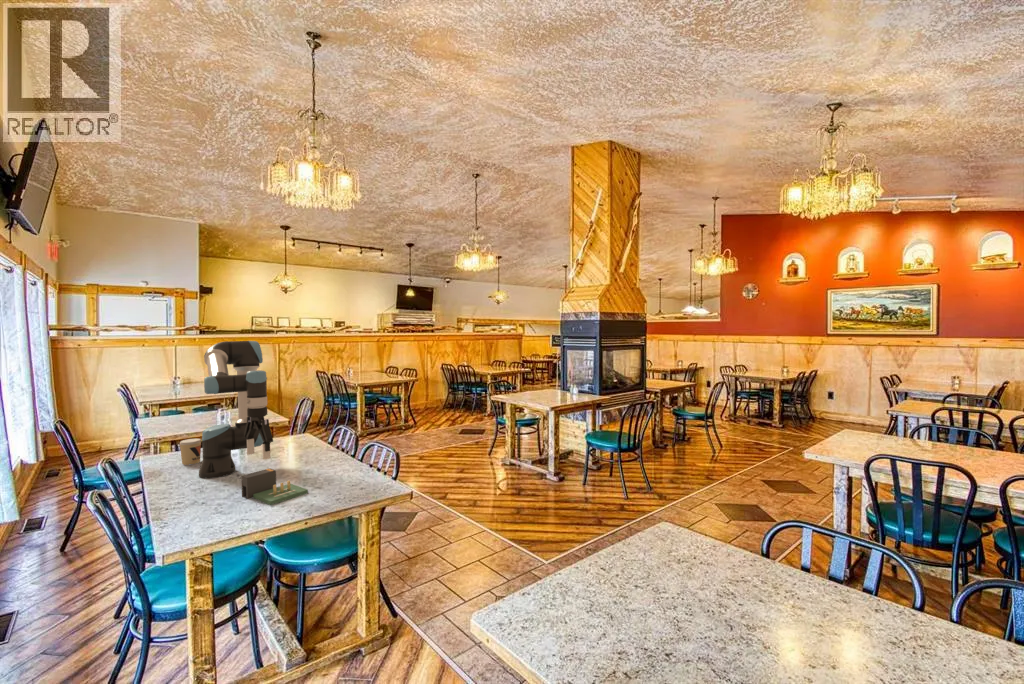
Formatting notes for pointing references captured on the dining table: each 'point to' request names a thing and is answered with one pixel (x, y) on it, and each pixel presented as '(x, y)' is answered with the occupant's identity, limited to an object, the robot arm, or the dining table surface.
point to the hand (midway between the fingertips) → (258, 456)
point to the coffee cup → (190, 451)
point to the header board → (280, 493)
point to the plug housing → (258, 482)
